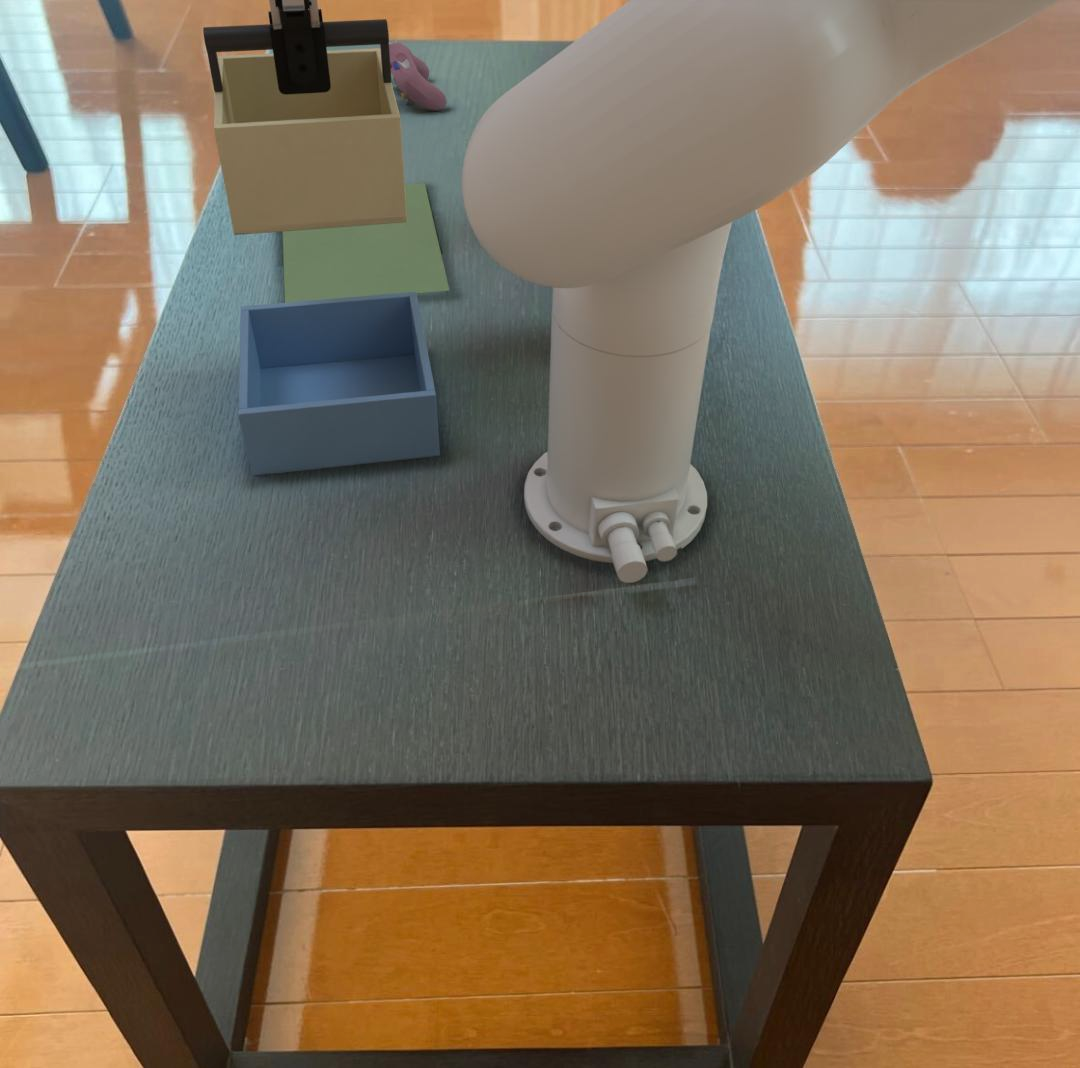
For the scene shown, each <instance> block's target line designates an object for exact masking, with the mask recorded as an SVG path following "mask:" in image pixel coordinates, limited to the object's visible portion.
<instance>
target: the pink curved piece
mask: <svg viewBox="0 0 1080 1068" xmlns="http://www.w3.org/2000/svg"><path fill="white" fill-rule="evenodd" d="M389 52H390V67H391V76H392V78H393V81H394V83H395V85H396V87H397V88H398V90H399V91H401V94H400V96H401V98H402V99H403V100H404V101H405V100H407V102H408V103H409V105H413V104H415V103H416V104H417V105H418V106H420V107H423V108H425V109H428V110H430V111H435V112H438V111H443V110H444V109H445V107H446V106H447V102H448V101H447V97H446V95H445V93H444V92H443V91H442V90H441V89H440V88H439V87H437V86H436V85H434V84H433V83H431V82H430V81H428V79H429V78H430V69H429V67H428V65H427V64H426V62H424V60H422V59H421V58H419V57H417V56H416V55H414V54H413V52H412V51H411V49H410V48H409V47H407V46H406V45H404V44H402V43H401V42H398V41H397V38H395V40H394V41H393V42H390V41H389Z"/></svg>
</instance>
